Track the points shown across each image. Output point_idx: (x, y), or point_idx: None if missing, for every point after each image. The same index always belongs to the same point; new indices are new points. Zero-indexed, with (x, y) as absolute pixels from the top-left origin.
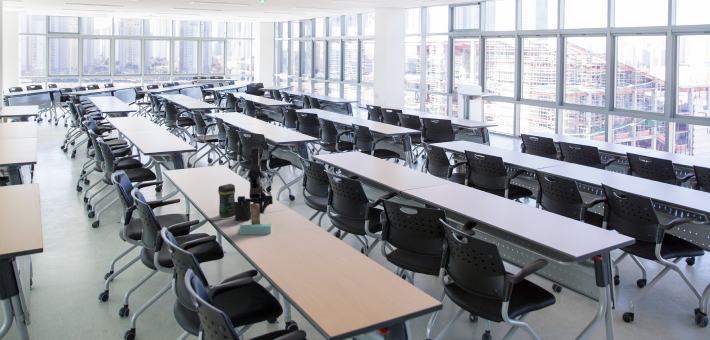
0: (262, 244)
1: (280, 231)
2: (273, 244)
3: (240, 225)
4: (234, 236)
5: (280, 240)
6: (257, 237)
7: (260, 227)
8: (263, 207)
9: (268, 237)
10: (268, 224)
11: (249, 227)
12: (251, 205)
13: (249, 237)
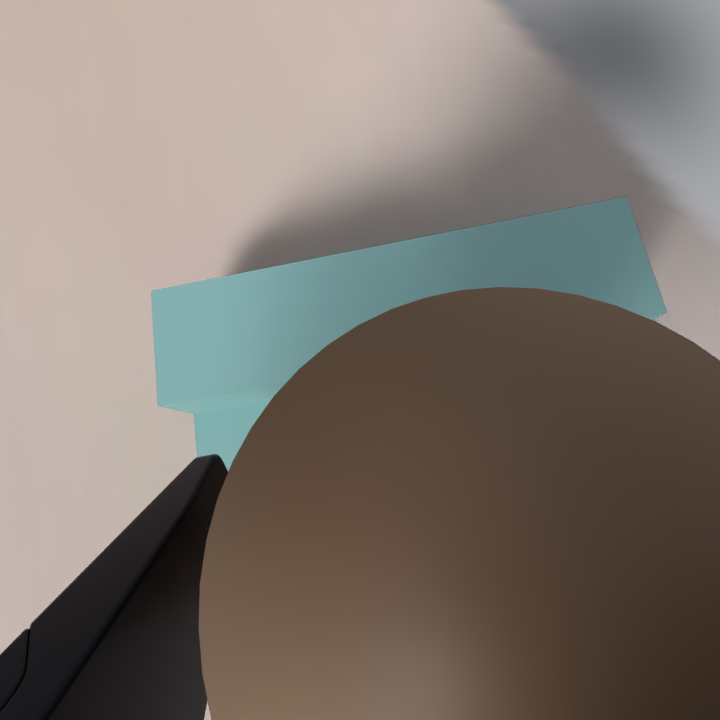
0: (245, 8)
1: (88, 402)
2: (143, 20)
3: (650, 289)
4: (624, 188)
5: (82, 121)
6: (333, 180)
7: (301, 269)
8: (92, 610)
9: (211, 191)
10: (185, 367)
11: (467, 232)
12: (698, 357)
13: (426, 172)
